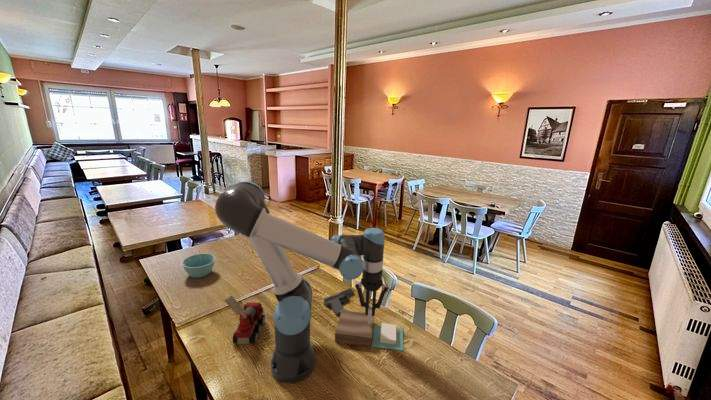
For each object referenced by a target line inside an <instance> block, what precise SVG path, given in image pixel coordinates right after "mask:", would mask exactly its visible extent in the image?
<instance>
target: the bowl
mask: <svg viewBox="0 0 711 400" xmlns="http://www.w3.org/2000/svg"><path fill="white" fill-rule="evenodd" d="M215 261H216V256H215V255H214V254H211V253H206V252H205V253H204V252H203V253H195V254H193V255H189V256H188V257H185V258H184V259H183V260H182V261H181V265H182V267H183V269H184V271H185V272H186V273H187V275H188V277H191V278H194V279H199V278H205V277H206V276H208V275H209V274H211V272H212V271H213V268H214V265H215Z"/></svg>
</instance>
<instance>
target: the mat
mask: <svg viewBox="0 0 711 400" xmlns="http://www.w3.org/2000/svg"><path fill="white" fill-rule="evenodd" d="M397 328H398V330H397V332H396V345H395V344H388V343H380V335H381V325H378V324H373V333H372V342H371V347H372V348H379V349H386V350H393V351H400V352H404V351H405V350H404V328H401V327H397ZM400 329H401V330H400ZM398 331H399V332H398Z"/></svg>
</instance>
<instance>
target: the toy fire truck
mask: <svg viewBox="0 0 711 400" xmlns="http://www.w3.org/2000/svg"><path fill="white" fill-rule="evenodd" d="M224 302H225V303H226V304H227V306H228V307H229V308H230V310H232V311H233V312H234V314H235V315H236V316H239V317H238V319H239V320H238V321H239V322H238V323H239V324H238V326H237V328H236V331H234V332H233V334H232V335H233V336H232V344H238V345H250V344H257V342H258V340H259V339H258V338H259V336H260V335H261V332H262V326H264V325H265V323H266V315H265V314H264V307H263V305H262V303H261V302H257V301H256V302H251V301H250V302H248V301H247V302H245V304H244V305H243V307H242V306H241V305H240V303H239V302H238V301H237V300H236V298H235V297H233V295H232V294H230V295H228V296H227V297H226V298H225V299H224Z"/></svg>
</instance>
